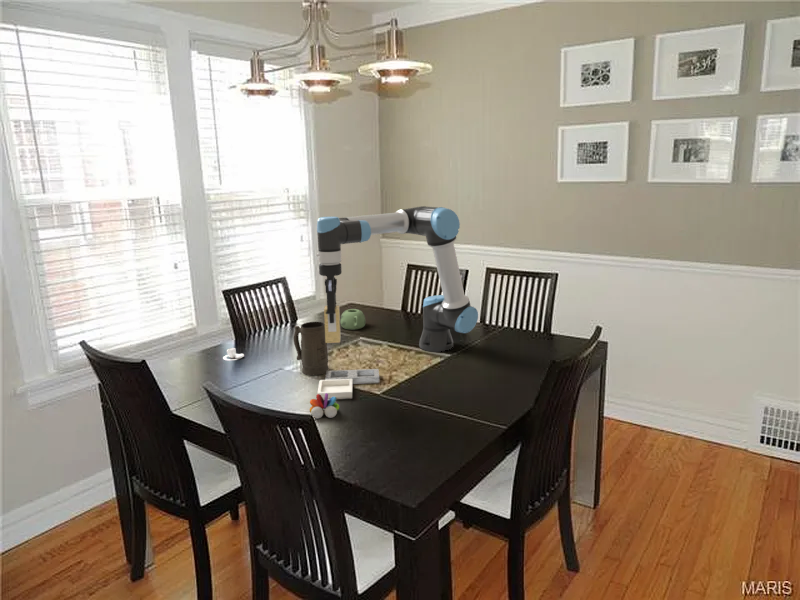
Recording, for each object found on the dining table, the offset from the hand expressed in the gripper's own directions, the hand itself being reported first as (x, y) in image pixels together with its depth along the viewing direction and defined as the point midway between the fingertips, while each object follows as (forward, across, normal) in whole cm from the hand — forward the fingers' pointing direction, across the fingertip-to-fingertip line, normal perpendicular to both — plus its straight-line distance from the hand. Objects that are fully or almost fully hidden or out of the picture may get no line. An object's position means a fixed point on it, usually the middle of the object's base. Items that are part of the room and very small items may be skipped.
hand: (332, 328), depth 188 cm
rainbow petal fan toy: (+24, +17, -3) cm, 30 cm away
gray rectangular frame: (+24, -11, +6) cm, 27 cm away
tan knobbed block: (+4, 0, 0) cm, 4 cm away
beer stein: (+24, -23, -11) cm, 35 cm away
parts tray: (+24, 0, 0) cm, 24 cm away
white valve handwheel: (+25, -39, -45) cm, 64 cm away
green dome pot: (+24, -79, +6) cm, 83 cm away
